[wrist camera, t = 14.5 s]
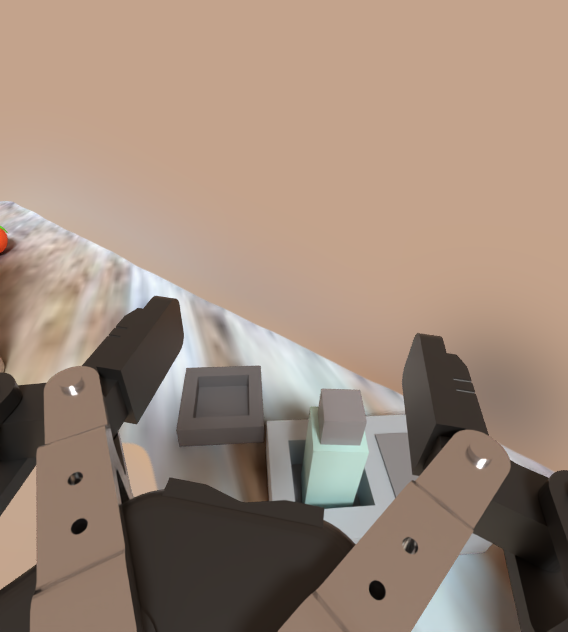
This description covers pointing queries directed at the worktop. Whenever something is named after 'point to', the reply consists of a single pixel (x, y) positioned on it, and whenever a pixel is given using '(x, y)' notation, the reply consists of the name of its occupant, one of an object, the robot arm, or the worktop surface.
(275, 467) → the grey divided tray
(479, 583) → the worktop surface
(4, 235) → the clementine
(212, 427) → the grey square tray
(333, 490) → the plug
